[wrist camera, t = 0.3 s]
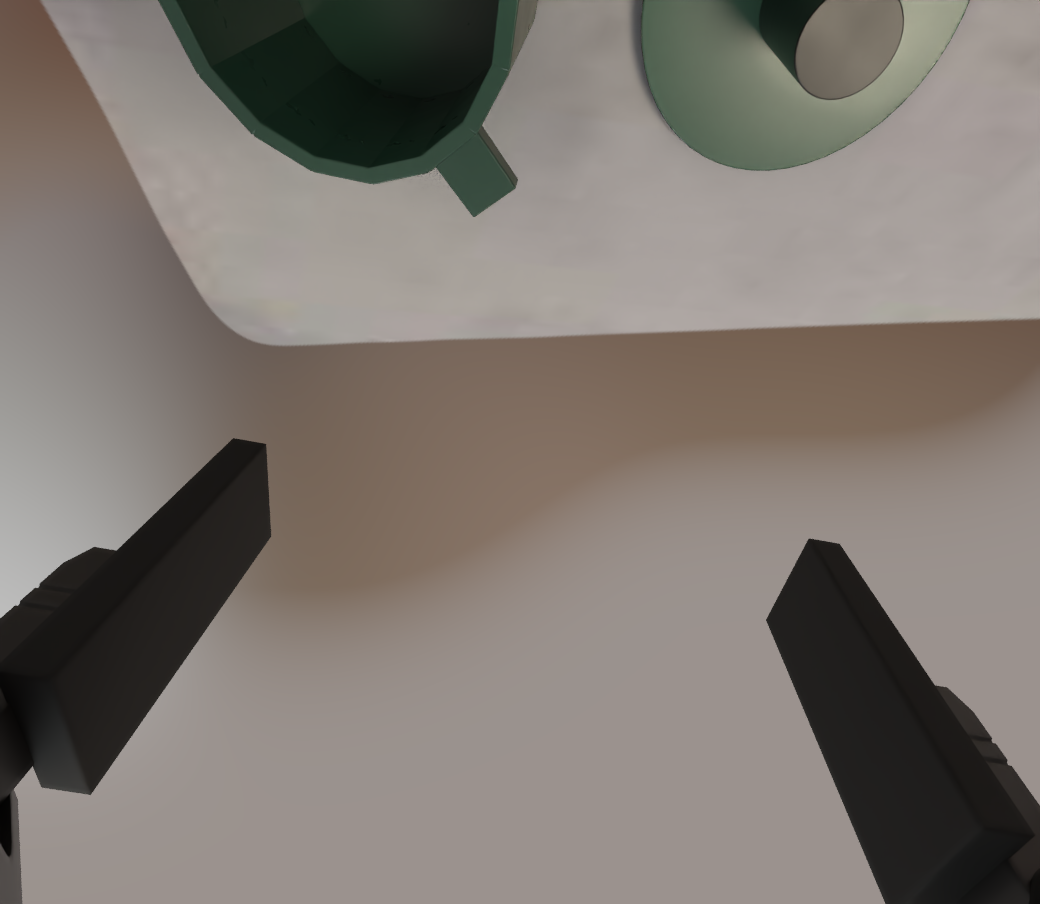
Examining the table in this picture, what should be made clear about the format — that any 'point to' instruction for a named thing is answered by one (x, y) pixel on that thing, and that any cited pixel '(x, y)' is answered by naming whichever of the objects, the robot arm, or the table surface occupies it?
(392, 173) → the pot
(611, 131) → the table surface
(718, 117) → the lid
